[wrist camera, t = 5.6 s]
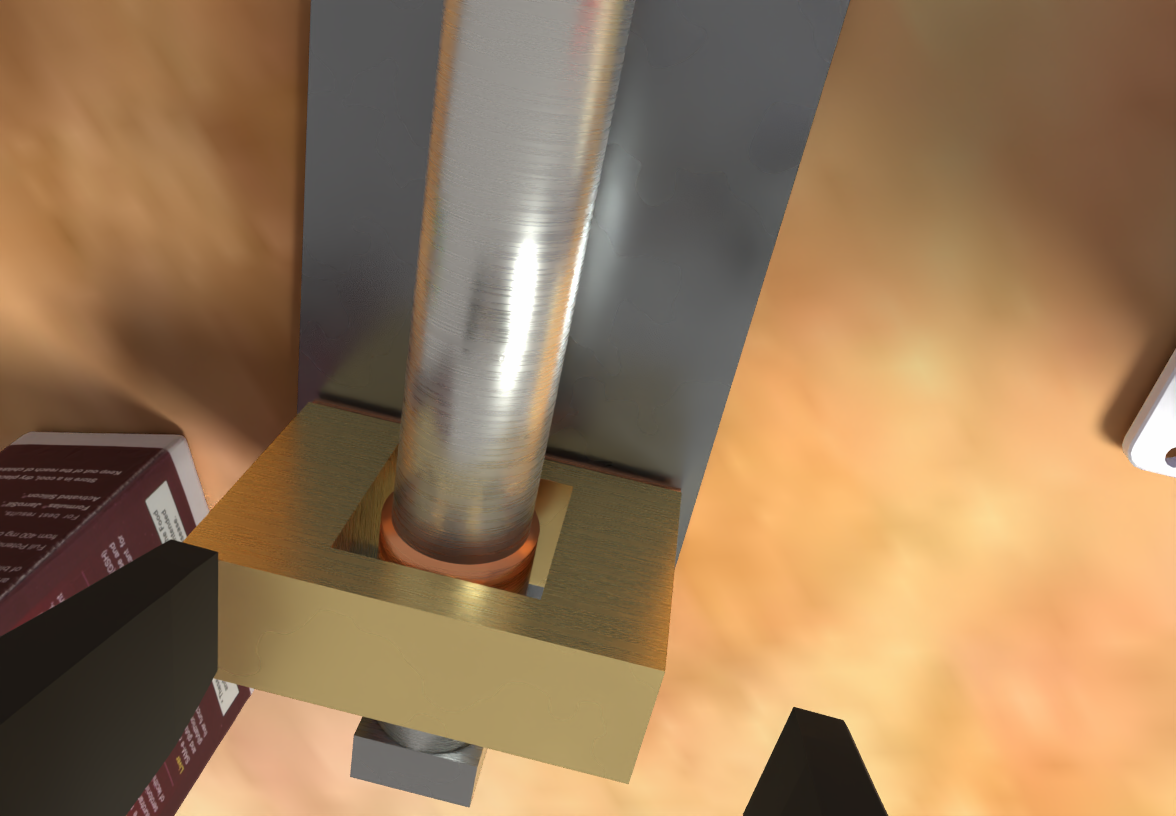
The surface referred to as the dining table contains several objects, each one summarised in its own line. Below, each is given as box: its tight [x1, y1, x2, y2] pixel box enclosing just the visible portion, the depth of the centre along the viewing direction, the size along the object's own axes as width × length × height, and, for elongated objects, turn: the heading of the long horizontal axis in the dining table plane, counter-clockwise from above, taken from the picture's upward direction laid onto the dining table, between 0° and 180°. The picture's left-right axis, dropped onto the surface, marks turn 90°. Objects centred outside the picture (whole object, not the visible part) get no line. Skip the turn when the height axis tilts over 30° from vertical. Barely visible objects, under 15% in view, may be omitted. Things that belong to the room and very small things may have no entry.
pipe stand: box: [297, 0, 850, 807], centre depth 17 cm, size 22×10×5 cm, turn 169°
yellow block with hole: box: [183, 402, 682, 784], centre depth 19 cm, size 3×9×6 cm, turn 79°
